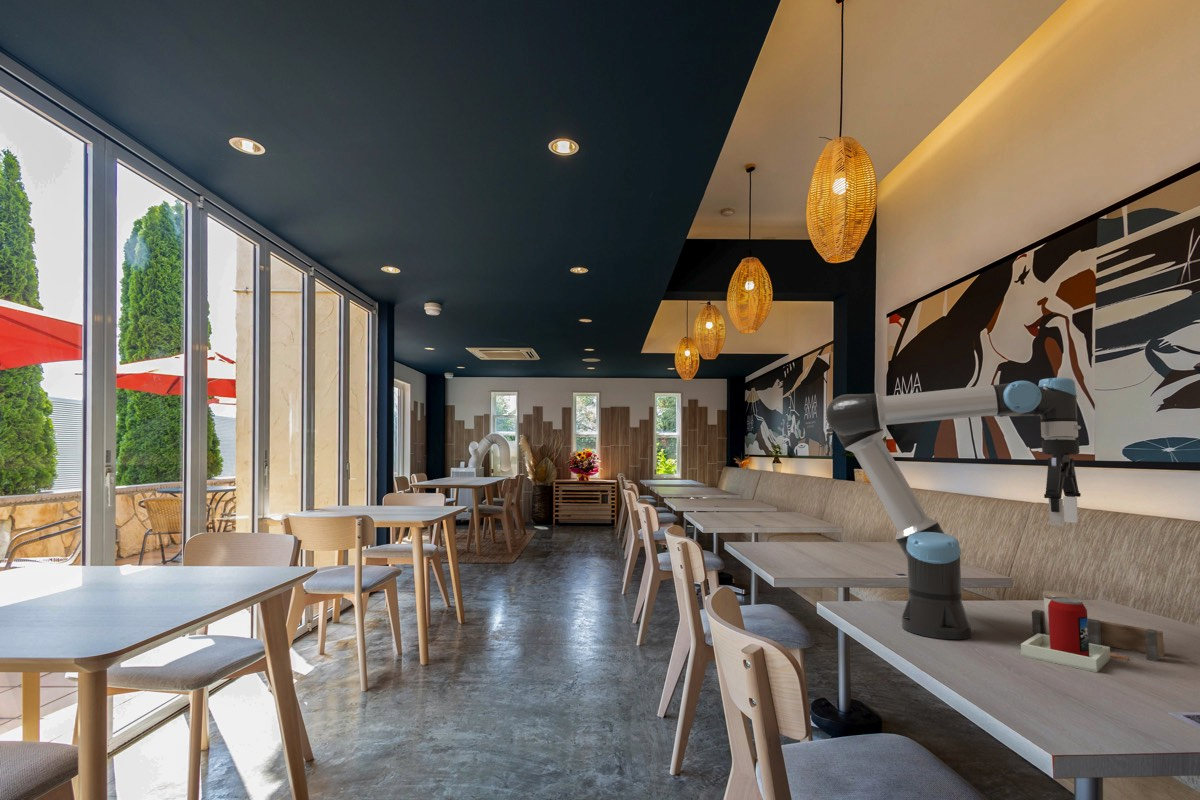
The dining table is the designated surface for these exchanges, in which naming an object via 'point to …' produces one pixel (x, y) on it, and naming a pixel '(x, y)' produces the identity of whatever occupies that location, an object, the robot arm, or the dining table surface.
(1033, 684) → the dining table surface
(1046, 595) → the ceramic jar
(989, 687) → the dining table surface
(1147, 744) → the dining table surface
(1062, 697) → the dining table surface
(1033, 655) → the tray
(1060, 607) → the beverage can
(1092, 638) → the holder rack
